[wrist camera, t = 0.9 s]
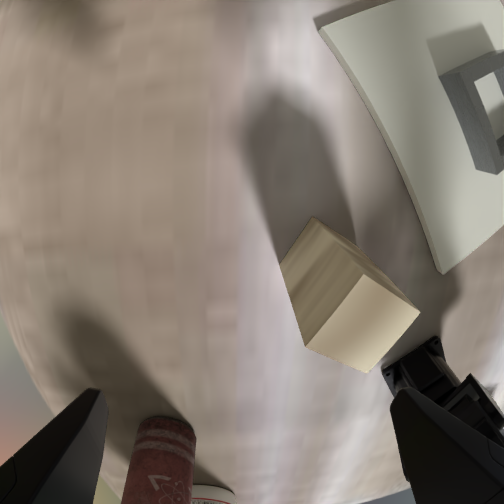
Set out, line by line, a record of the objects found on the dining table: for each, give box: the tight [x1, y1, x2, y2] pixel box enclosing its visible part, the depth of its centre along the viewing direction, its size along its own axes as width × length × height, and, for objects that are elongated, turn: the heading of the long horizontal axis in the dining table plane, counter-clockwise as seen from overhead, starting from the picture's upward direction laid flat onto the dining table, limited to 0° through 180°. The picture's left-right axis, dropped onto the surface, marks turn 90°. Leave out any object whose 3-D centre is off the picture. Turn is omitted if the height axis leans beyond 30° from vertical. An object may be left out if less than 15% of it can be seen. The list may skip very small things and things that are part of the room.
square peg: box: [279, 216, 421, 373], centre depth 17 cm, size 4×4×9 cm
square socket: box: [438, 49, 504, 175], centre depth 15 cm, size 8×8×2 cm
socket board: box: [318, 0, 504, 274], centre depth 17 cm, size 20×20×1 cm
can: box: [121, 417, 196, 504], centre depth 21 cm, size 6×6×14 cm
